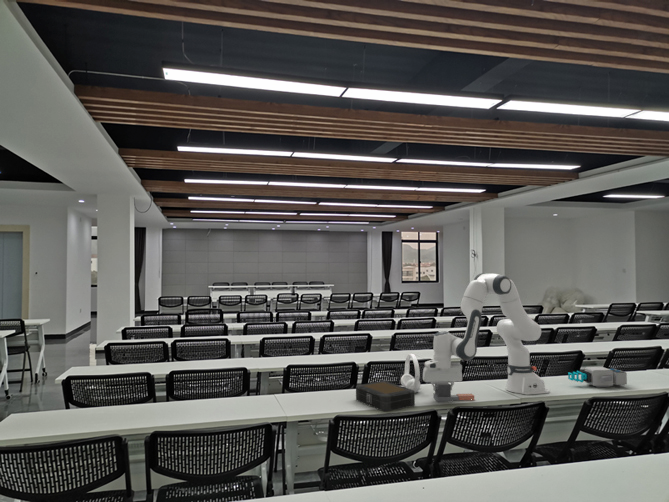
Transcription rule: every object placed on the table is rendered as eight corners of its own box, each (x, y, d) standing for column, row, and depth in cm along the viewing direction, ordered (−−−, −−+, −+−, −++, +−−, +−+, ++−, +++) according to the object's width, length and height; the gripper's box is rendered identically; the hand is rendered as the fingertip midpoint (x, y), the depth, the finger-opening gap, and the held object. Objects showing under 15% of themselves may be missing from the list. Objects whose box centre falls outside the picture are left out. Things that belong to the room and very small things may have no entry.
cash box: (353, 400, 238) (353, 385, 238) (384, 394, 249) (384, 380, 249) (383, 413, 217) (383, 396, 217) (416, 406, 228) (416, 390, 228)
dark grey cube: (446, 393, 241) (446, 381, 241) (450, 396, 235) (450, 384, 235) (434, 393, 241) (434, 382, 241) (438, 396, 234) (438, 385, 234)
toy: (562, 365, 273) (611, 365, 274) (562, 382, 272) (612, 382, 273) (577, 371, 256) (630, 371, 257) (578, 390, 256) (630, 389, 257)
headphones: (423, 394, 248) (422, 356, 249) (409, 394, 247) (408, 357, 248) (411, 385, 268) (411, 350, 269) (398, 385, 267) (398, 351, 267)
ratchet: (470, 397, 242) (470, 382, 243) (475, 401, 235) (475, 386, 235) (433, 398, 241) (433, 383, 241) (437, 402, 233) (437, 387, 234)
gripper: (459, 361, 242) (460, 388, 241) (421, 362, 241) (421, 389, 240) (464, 364, 236) (464, 391, 235) (424, 365, 234) (425, 392, 234)
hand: (442, 390), depth 238 cm, fingers open, 6 cm apart
